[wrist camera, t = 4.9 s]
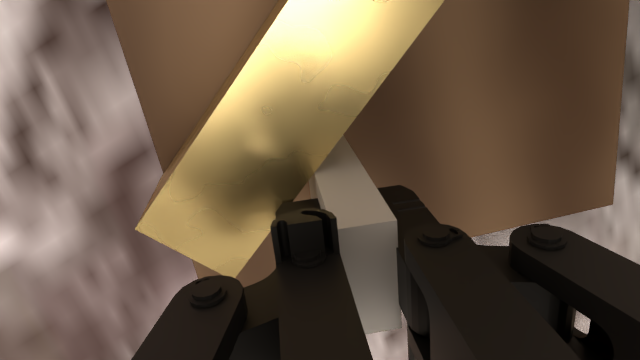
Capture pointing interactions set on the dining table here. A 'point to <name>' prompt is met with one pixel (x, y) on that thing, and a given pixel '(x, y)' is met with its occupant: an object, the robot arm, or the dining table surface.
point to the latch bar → (276, 123)
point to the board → (425, 103)
